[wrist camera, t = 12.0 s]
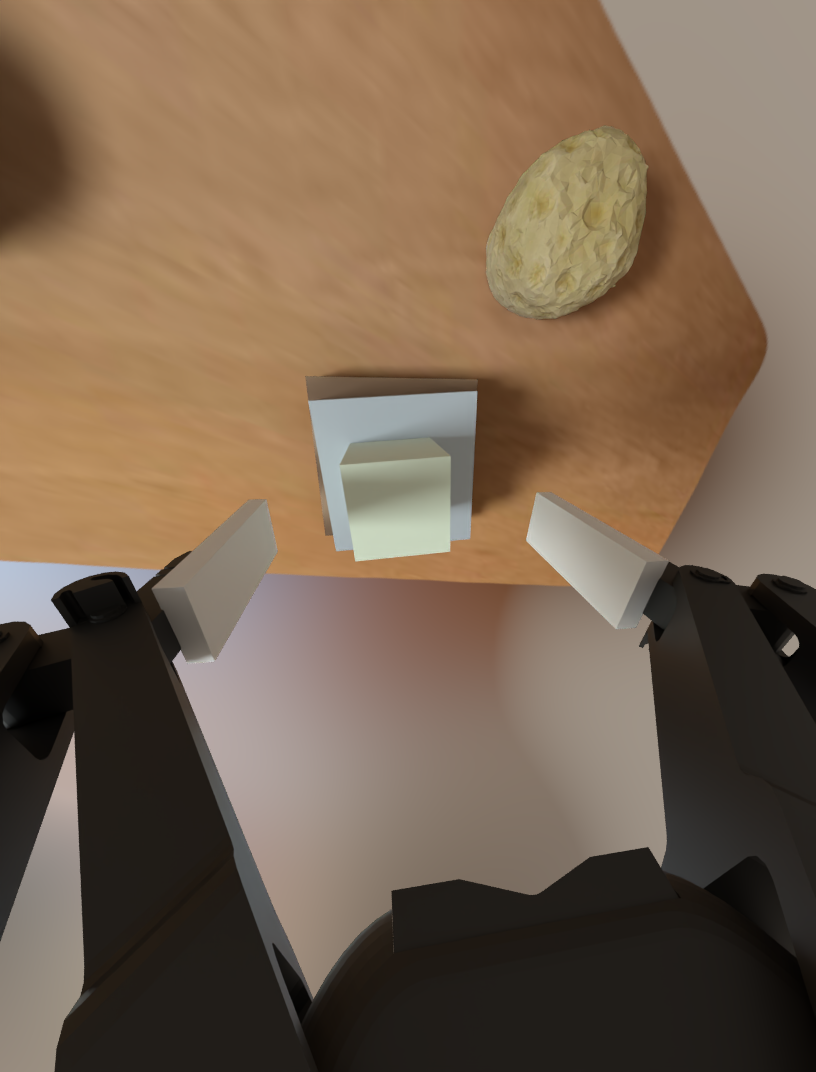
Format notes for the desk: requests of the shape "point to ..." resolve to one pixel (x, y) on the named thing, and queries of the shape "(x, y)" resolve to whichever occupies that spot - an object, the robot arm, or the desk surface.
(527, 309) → the decorative item
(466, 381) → the bottom slab
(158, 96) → the desk surface
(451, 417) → the top slab
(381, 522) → the block
